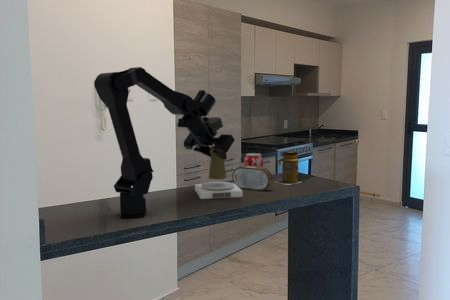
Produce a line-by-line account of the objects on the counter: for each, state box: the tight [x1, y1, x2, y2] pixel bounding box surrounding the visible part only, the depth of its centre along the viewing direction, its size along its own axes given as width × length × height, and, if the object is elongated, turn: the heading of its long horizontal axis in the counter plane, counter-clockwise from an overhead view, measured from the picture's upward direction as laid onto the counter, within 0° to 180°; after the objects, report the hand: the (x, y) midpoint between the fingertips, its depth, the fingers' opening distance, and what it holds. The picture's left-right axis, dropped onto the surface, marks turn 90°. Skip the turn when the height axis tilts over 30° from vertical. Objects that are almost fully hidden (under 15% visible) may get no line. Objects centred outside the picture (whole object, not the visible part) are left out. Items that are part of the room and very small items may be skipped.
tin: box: [231, 164, 274, 192], centre depth 147 cm, size 15×3×8 cm, turn 61°
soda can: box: [243, 152, 264, 167], centre depth 152 cm, size 7×7×12 cm
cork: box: [208, 145, 227, 180], centre depth 139 cm, size 6×6×11 cm
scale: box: [194, 181, 243, 200], centre depth 140 cm, size 14×14×3 cm
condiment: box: [275, 150, 302, 186], centre depth 159 cm, size 7×8×12 cm
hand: (220, 158), depth 140 cm, fingers closed on cork, 5 cm apart
